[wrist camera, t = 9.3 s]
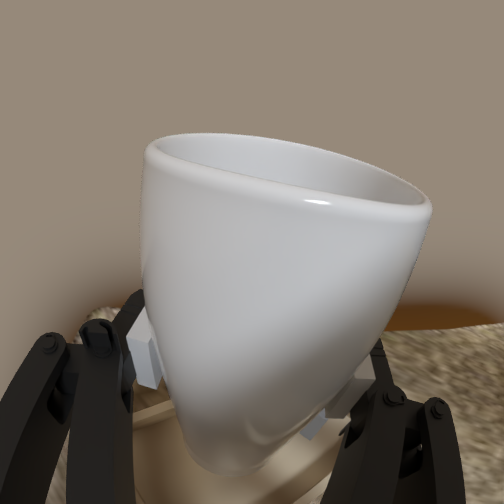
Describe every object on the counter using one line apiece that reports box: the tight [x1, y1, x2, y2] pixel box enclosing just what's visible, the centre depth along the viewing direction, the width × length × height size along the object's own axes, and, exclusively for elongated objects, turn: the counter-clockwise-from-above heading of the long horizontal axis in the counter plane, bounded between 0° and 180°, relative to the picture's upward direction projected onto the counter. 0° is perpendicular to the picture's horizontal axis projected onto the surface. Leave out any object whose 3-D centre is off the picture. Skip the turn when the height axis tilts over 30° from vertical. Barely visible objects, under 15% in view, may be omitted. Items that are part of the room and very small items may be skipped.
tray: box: [133, 400, 351, 504], centre depth 17 cm, size 20×13×2 cm, turn 127°
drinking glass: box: [140, 133, 433, 477], centre depth 10 cm, size 7×7×15 cm
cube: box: [300, 408, 329, 440], centre depth 20 cm, size 4×4×4 cm
